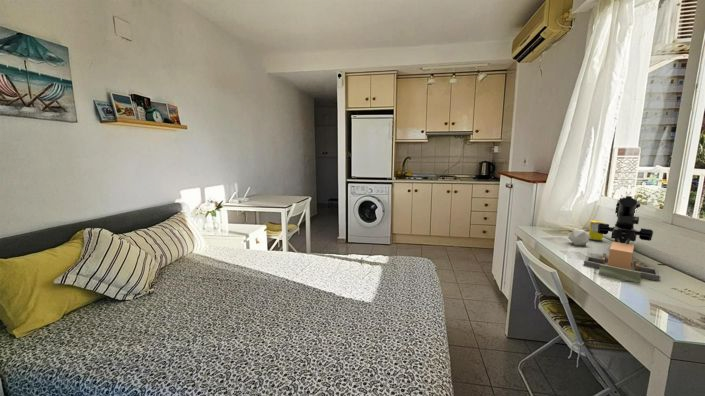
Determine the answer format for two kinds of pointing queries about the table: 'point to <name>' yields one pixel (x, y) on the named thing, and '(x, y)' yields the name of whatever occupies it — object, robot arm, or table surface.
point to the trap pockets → (645, 271)
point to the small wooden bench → (620, 271)
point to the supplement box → (595, 231)
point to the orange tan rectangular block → (620, 255)
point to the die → (579, 237)
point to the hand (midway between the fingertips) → (621, 246)
